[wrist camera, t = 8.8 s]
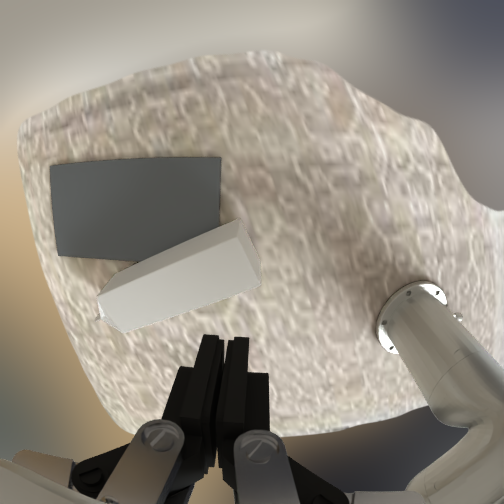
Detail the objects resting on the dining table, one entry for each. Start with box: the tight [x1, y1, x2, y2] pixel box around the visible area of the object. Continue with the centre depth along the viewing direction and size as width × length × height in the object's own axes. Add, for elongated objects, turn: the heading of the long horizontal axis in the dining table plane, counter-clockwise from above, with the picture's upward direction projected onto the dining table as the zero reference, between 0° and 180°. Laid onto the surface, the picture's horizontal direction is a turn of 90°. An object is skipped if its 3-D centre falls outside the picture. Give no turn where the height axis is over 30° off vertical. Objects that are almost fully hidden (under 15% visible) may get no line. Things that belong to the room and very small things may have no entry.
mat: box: [50, 157, 221, 262], centre depth 34 cm, size 24×13×1 cm, turn 87°
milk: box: [94, 218, 261, 333], centre depth 34 cm, size 6×6×22 cm
